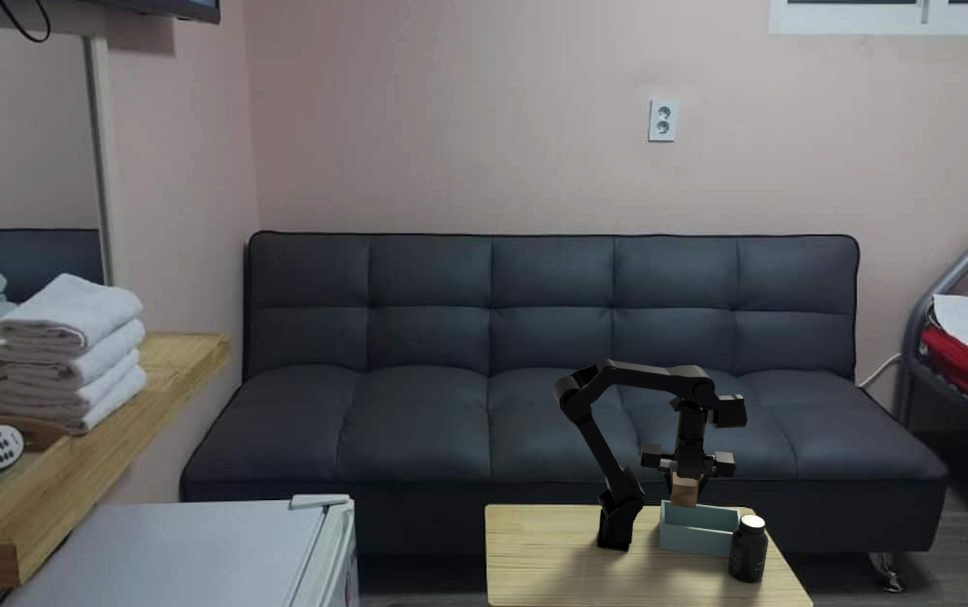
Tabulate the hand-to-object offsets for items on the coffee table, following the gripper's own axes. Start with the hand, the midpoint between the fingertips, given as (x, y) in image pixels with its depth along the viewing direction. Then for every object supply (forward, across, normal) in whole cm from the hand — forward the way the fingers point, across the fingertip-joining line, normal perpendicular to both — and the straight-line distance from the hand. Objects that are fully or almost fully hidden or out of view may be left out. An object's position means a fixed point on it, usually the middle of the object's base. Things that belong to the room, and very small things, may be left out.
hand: (683, 496), depth 169 cm
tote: (+10, +4, 0) cm, 11 cm away
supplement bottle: (+10, +13, -9) cm, 19 cm away
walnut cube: (+1, 0, 0) cm, 1 cm away
